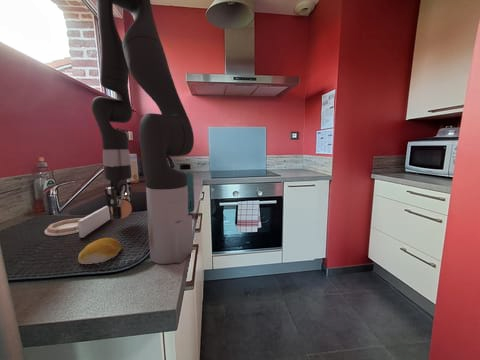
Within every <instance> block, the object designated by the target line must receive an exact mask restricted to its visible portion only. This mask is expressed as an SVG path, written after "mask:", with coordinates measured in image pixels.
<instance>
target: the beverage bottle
mask: <svg viewBox="0 0 480 360" xmlns="http://www.w3.org/2000/svg"><path fill="white" fill-rule="evenodd" d="M191 169H192V167H191V163H180V164H179V171H183V172H184V173H185V174H186V175H187V186H188V214H190V213H193V212H194V211H195V188H194V187H195V186H194V185H195V184H194V183H195V182H194V180H195V179H194V174H193V173H191V171H190V172H188V171H187V170H191Z"/></svg>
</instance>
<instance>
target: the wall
mask: <svg viewBox="0 0 480 360" xmlns="http://www.w3.org/2000/svg"><path fill="white" fill-rule="evenodd" d="M110 215H111V214H110V207H108V206H107V205H105V206H103V207H102V208H100V209H97V210H95V211H93V212H92V213H90V214H88V215H87V216H85V217H82V218H83V219H81V220H79V221H78V228H79V232H78V236H79V238H85V237H86V236H87V235H89V234H90V233H92V232H93V231H95V230H97V229H98V228H99V227H101V226H102V225H104V224H105V223H107V222H108V221H109V220H110V219H111V217H110Z"/></svg>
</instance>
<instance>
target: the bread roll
mask: <svg viewBox="0 0 480 360" xmlns="http://www.w3.org/2000/svg"><path fill="white" fill-rule="evenodd" d="M121 250H122V244H121V242H119V241H118V240H117V239H115V238H113V237H111V238H110V237H102V238H99V239H97V240H95V241H92V242H90V243H89V244H87V245H86V246H85V247H84V248H83V249H82V250H81V251H80V252H79V254H78V256H77V257H78V258H77V260H78V261H77V262H79V264H81V265H83V264H92V263H99V262H104V261H107V260H109V259H111V258H113V257H115V256H116V257H117V255H119V253H120V252H121ZM118 252H119V253H118ZM116 257H115V258H116ZM113 259H114V258H113Z"/></svg>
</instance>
